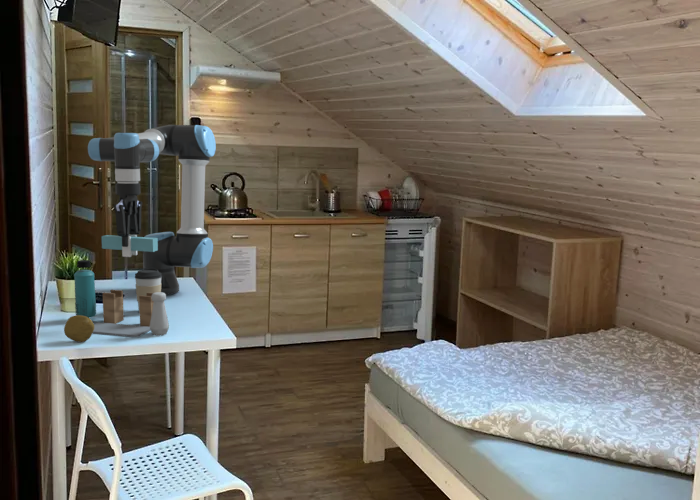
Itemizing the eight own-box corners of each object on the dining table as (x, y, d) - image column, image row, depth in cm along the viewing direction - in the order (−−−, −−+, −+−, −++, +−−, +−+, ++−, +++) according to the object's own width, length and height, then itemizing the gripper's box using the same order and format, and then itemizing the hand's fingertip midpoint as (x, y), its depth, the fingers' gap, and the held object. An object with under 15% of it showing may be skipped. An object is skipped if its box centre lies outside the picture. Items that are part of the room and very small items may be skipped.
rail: (107, 247, 229) (106, 235, 228) (157, 250, 225) (157, 238, 224) (101, 248, 226) (101, 236, 225) (153, 251, 222) (152, 239, 222)
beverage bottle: (101, 319, 233) (98, 260, 230) (84, 323, 227) (82, 262, 224) (87, 316, 236) (85, 257, 233) (71, 320, 231) (68, 260, 228)
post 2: (148, 322, 231) (147, 292, 229) (159, 323, 230) (158, 293, 229) (140, 326, 226) (139, 296, 224) (151, 327, 225) (150, 296, 223)
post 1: (112, 319, 234) (111, 289, 232) (123, 320, 233) (122, 290, 231) (103, 323, 229) (102, 293, 227) (114, 324, 228) (113, 294, 226)
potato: (63, 340, 209) (61, 314, 208) (89, 336, 213) (88, 311, 212) (68, 346, 203) (67, 319, 202) (96, 342, 208) (95, 316, 206)
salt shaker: (146, 333, 218) (145, 292, 216) (162, 330, 222) (162, 289, 220) (155, 337, 214) (154, 295, 212) (172, 334, 218) (171, 293, 216)
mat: (97, 323, 228) (97, 322, 228) (153, 328, 223) (153, 327, 223) (78, 331, 218) (78, 330, 218) (137, 337, 214) (137, 335, 214)
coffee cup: (155, 316, 239) (154, 272, 237) (130, 314, 241) (129, 271, 238) (167, 309, 248) (166, 268, 245) (143, 308, 250) (142, 266, 247)
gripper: (130, 180, 231) (132, 251, 234) (102, 183, 215) (105, 259, 219) (151, 181, 229) (153, 252, 233) (125, 184, 214) (127, 260, 217)
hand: (129, 255), depth 226 cm, fingers closed on rail, 3 cm apart
